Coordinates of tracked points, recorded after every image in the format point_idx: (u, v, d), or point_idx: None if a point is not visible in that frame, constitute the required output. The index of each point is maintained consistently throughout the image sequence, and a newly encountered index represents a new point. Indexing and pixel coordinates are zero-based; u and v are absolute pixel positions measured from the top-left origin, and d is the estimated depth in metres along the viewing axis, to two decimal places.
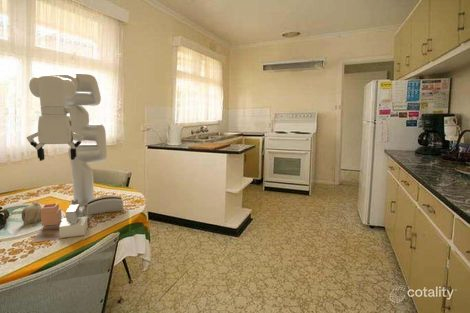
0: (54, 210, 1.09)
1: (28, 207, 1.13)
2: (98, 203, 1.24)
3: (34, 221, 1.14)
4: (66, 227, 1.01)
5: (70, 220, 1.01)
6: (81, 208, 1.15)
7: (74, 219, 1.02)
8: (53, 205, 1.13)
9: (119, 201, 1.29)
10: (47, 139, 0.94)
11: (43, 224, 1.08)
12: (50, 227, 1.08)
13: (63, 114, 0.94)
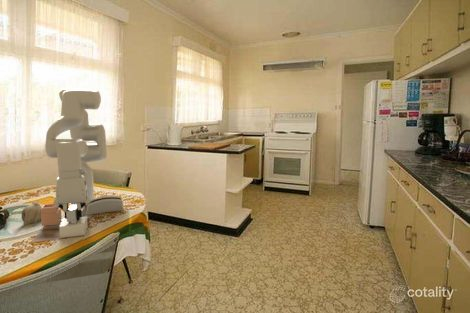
0: (54, 210, 1.09)
1: (28, 207, 1.13)
2: (98, 203, 1.24)
3: (34, 221, 1.14)
4: (66, 227, 1.01)
5: (70, 220, 1.01)
6: None
7: (74, 219, 1.02)
8: (53, 205, 1.13)
9: (119, 201, 1.29)
10: (64, 199, 1.01)
11: (43, 224, 1.08)
12: (50, 227, 1.08)
13: (79, 176, 1.02)
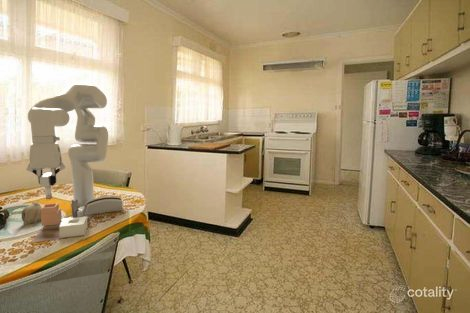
0: (54, 210, 1.09)
1: (28, 207, 1.13)
2: (97, 203, 1.24)
3: (34, 221, 1.14)
4: (66, 227, 1.01)
5: (43, 186, 1.05)
6: (81, 208, 1.15)
7: (47, 185, 1.05)
8: (53, 205, 1.13)
9: (118, 202, 1.29)
10: (38, 164, 1.05)
11: (43, 224, 1.08)
12: (50, 227, 1.08)
13: (52, 142, 1.06)
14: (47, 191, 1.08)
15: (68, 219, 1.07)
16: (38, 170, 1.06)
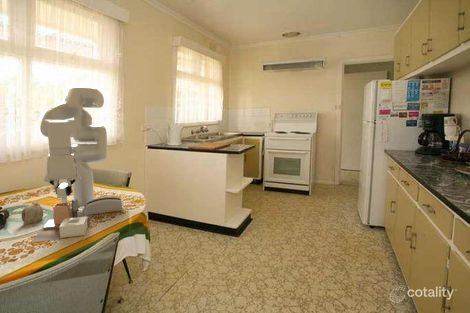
0: (66, 209, 1.11)
1: (28, 207, 1.13)
2: (97, 203, 1.23)
3: (34, 221, 1.14)
4: (66, 227, 1.01)
5: (60, 196, 1.08)
6: (81, 208, 1.15)
7: (64, 196, 1.08)
8: None
9: (118, 202, 1.28)
10: (55, 175, 1.08)
11: (55, 223, 1.10)
12: (50, 227, 1.08)
13: (68, 153, 1.08)
14: (63, 201, 1.11)
15: (68, 219, 1.07)
16: (55, 181, 1.09)
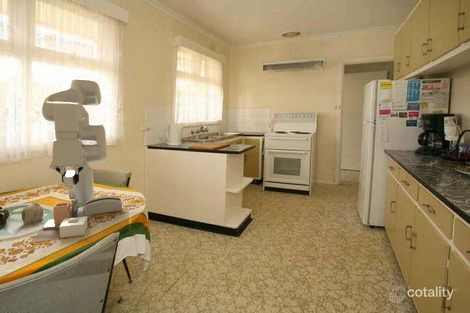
0: (66, 209, 1.11)
1: (28, 207, 1.13)
2: (96, 204, 1.23)
3: (34, 221, 1.14)
4: (66, 227, 1.01)
5: (67, 185, 0.99)
6: (81, 208, 1.15)
7: (72, 184, 1.00)
8: (65, 204, 1.14)
9: (117, 202, 1.28)
10: (61, 162, 0.99)
11: (56, 223, 1.10)
12: (50, 227, 1.08)
13: (76, 138, 1.00)
14: (71, 191, 1.03)
15: (68, 219, 1.07)
16: (61, 168, 1.00)
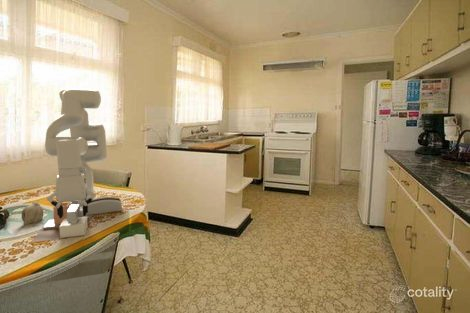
0: (66, 209, 1.11)
1: (28, 207, 1.13)
2: (95, 204, 1.23)
3: (34, 221, 1.14)
4: (66, 227, 1.01)
5: (70, 220, 1.01)
6: (81, 208, 1.15)
7: (74, 219, 1.02)
8: (65, 204, 1.14)
9: (117, 202, 1.28)
10: (64, 197, 1.01)
11: (56, 223, 1.10)
12: (50, 227, 1.08)
13: (78, 174, 1.02)
14: None
15: None
16: (59, 202, 1.01)
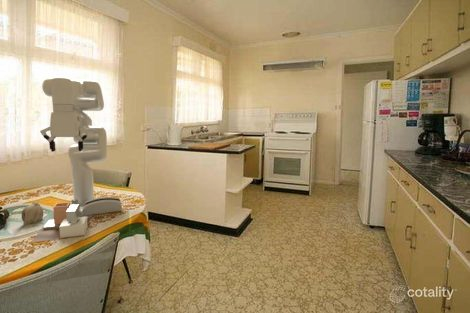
0: (66, 209, 1.11)
1: (28, 207, 1.13)
2: (95, 204, 1.23)
3: (34, 221, 1.14)
4: (66, 227, 1.01)
5: (70, 220, 1.02)
6: (81, 208, 1.15)
7: (74, 219, 1.02)
8: (65, 204, 1.14)
9: (117, 202, 1.27)
10: (58, 133, 1.07)
11: (56, 223, 1.10)
12: (50, 227, 1.08)
13: (72, 111, 1.08)
14: None
15: None
16: (52, 136, 1.08)
